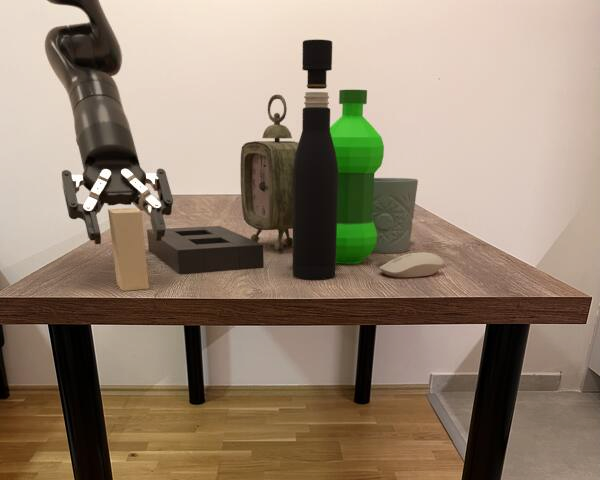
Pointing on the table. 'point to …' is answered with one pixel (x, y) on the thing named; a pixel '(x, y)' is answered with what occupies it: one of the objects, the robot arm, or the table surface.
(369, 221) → the plastic bottle
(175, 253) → the base
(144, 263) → the tan wooden block
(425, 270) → the computer mouse
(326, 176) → the black insulated flask
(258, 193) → the tabletop clock
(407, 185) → the drinking glass
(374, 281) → the table surface
